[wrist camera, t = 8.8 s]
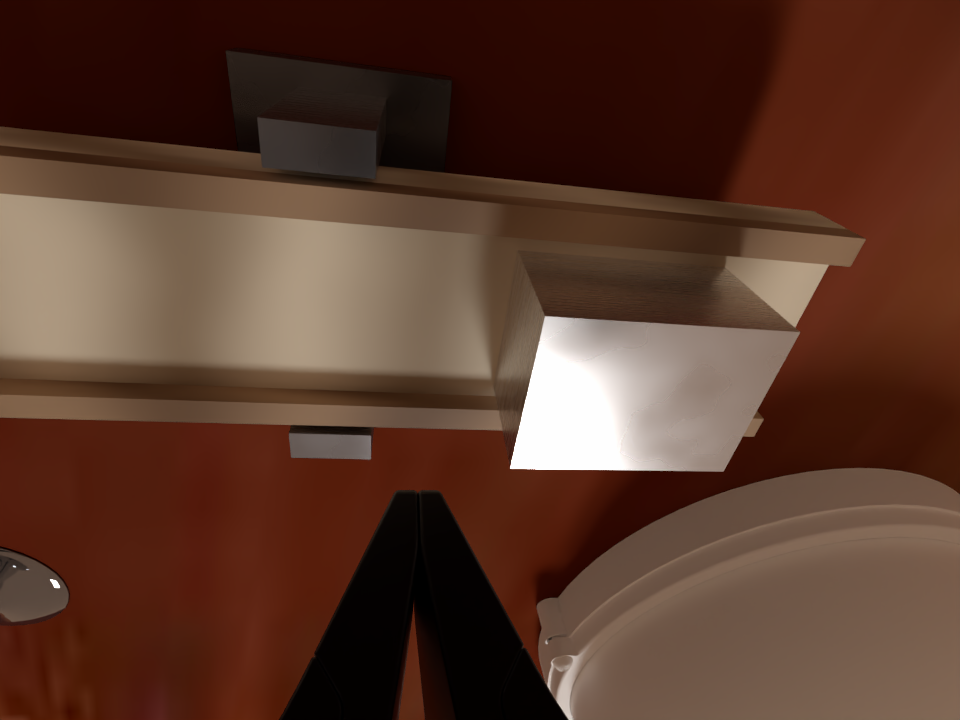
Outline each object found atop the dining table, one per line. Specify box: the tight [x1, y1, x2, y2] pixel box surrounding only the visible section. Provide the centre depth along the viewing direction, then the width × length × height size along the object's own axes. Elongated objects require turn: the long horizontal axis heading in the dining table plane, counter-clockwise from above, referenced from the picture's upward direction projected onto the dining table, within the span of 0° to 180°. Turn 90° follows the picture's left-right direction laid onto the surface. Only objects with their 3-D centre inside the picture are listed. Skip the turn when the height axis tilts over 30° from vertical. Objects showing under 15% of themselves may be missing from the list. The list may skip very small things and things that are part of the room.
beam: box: [0, 127, 866, 437], centre depth 15 cm, size 24×7×3 cm, turn 82°
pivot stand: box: [226, 48, 452, 459], centre depth 16 cm, size 6×11×6 cm, turn 173°
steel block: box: [493, 250, 800, 472], centre depth 14 cm, size 6×4×4 cm
